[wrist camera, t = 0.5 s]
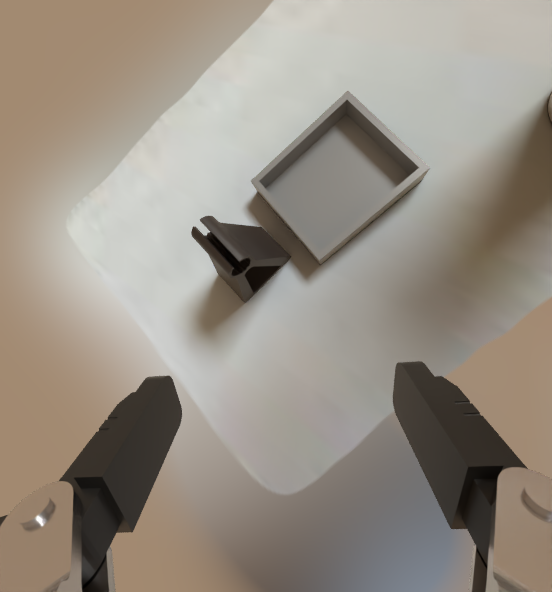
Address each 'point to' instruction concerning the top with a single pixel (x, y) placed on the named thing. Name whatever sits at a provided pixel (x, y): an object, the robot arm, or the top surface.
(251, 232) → the phone stand
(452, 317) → the top surface
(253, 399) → the top surface
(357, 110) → the tray
